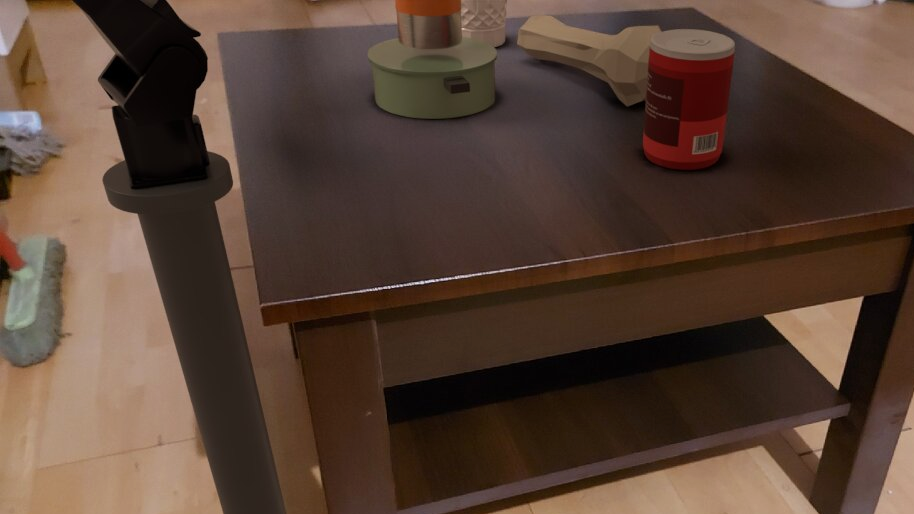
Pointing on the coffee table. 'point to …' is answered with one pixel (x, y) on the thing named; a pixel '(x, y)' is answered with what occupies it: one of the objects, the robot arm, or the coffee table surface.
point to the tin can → (429, 23)
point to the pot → (433, 79)
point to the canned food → (687, 97)
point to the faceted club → (594, 52)
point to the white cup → (484, 20)
